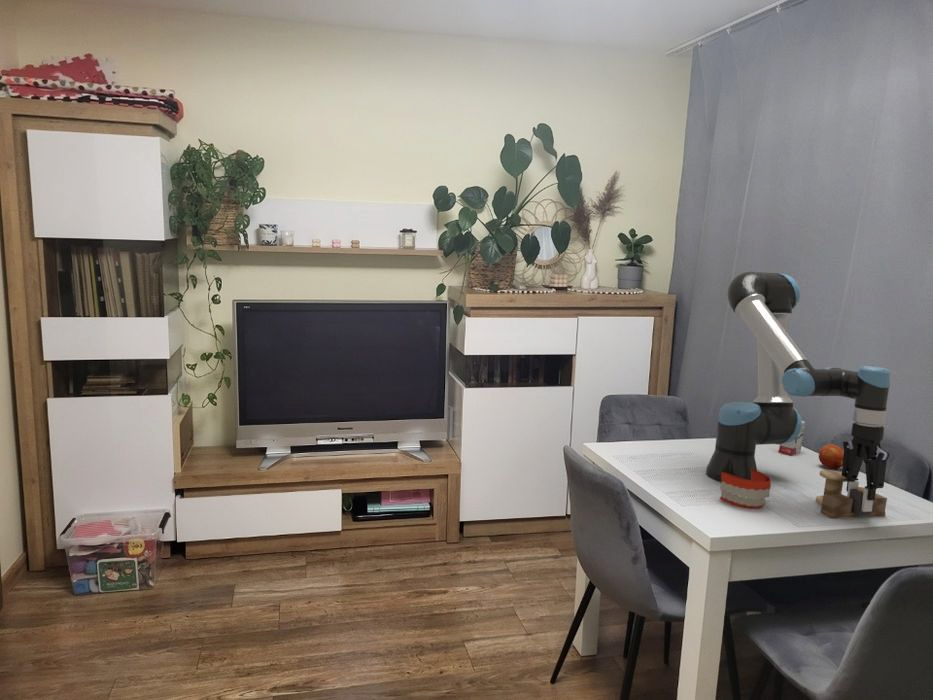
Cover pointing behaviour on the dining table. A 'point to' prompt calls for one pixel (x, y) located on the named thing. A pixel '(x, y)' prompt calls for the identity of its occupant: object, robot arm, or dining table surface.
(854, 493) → the dark grey rectangular block
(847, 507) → the brown wooden u-shaped block
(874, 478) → the robot arm
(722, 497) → the toy
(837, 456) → the apple
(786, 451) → the ink box
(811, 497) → the dining table surface
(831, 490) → the wooden spool
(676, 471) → the dining table surface
